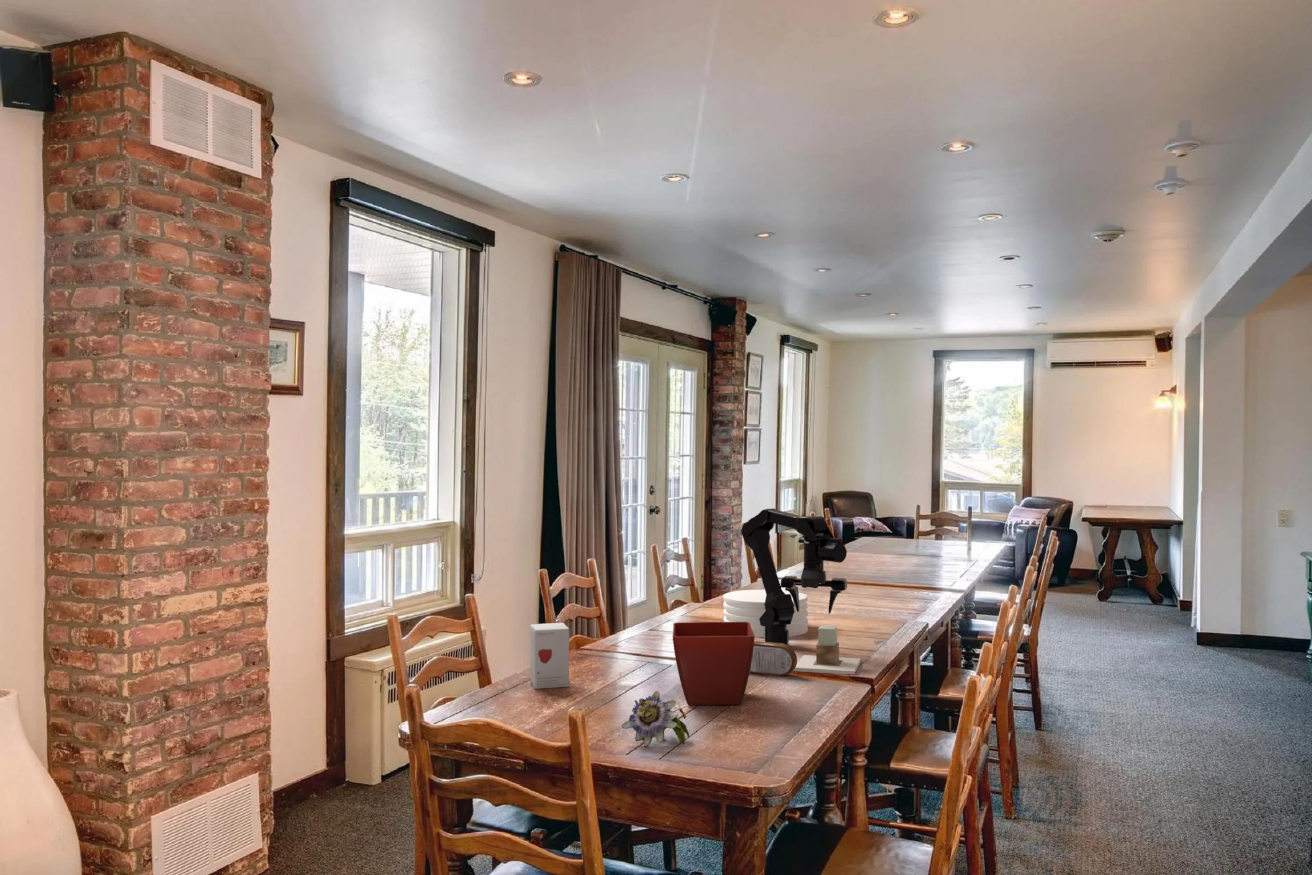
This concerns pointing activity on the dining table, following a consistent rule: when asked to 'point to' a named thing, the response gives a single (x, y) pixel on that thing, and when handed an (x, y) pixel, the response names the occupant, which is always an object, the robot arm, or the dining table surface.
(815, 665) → the off-white flat square slab
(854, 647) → the dining table surface
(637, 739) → the passion flower
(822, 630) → the sage block
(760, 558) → the robot arm
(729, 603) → the plate stack
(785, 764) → the dining table surface
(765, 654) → the tin
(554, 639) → the supplement box
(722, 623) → the plant pot
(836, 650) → the walnut block
